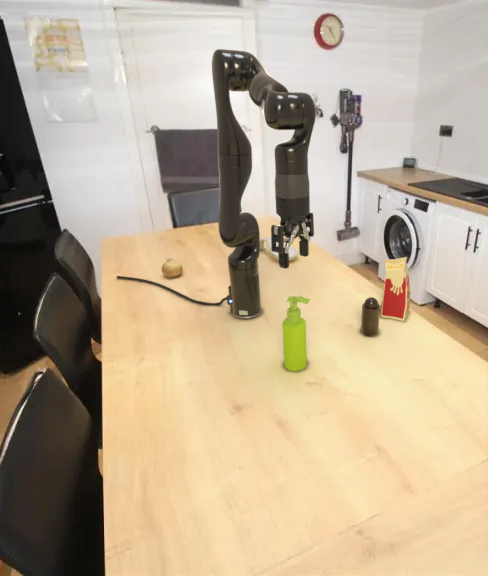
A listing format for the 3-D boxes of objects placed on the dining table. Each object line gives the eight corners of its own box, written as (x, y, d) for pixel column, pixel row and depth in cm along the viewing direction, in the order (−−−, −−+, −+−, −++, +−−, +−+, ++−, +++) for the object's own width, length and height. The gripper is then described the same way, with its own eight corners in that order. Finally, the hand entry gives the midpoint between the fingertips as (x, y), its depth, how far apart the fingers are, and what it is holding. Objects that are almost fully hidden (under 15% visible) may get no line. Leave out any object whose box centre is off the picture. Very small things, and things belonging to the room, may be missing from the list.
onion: (186, 272, 166) (184, 255, 163) (178, 280, 159) (176, 263, 156) (167, 271, 167) (165, 255, 164) (159, 279, 159) (155, 262, 156)
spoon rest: (304, 259, 179) (304, 243, 176) (284, 266, 171) (284, 250, 168) (268, 247, 193) (267, 232, 190) (248, 253, 185) (247, 238, 182)
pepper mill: (358, 333, 123) (359, 299, 118) (365, 325, 128) (367, 292, 123) (374, 338, 121) (376, 303, 116) (380, 330, 125) (383, 296, 120)
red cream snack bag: (409, 308, 138) (415, 252, 129) (405, 321, 130) (411, 263, 121) (382, 304, 140) (386, 249, 132) (376, 316, 133) (380, 259, 124)
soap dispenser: (307, 372, 106) (306, 304, 97) (281, 369, 107) (278, 302, 99) (312, 359, 111) (311, 294, 103) (287, 356, 113) (285, 291, 104)
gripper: (295, 185, 97) (297, 249, 104) (258, 197, 86) (263, 268, 93) (323, 188, 94) (323, 255, 100) (288, 201, 82) (291, 275, 89)
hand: (294, 261), depth 97 cm, fingers open, 8 cm apart
